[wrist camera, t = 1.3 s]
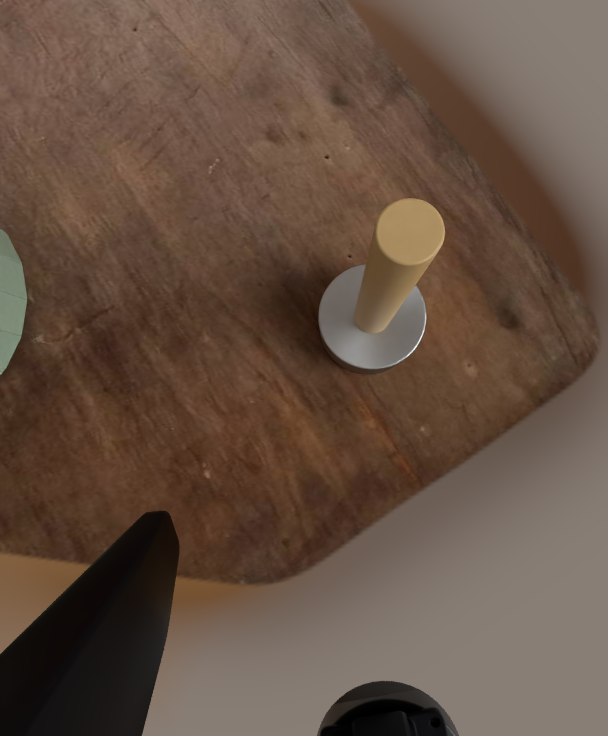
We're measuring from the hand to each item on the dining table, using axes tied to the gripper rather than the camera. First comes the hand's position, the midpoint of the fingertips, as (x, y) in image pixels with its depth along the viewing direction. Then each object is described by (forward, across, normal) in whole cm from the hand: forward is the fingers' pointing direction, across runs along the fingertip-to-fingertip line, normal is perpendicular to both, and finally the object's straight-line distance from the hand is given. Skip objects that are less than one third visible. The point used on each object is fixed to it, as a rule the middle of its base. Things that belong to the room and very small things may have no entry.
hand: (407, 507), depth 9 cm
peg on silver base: (+15, -1, +3) cm, 16 cm away
